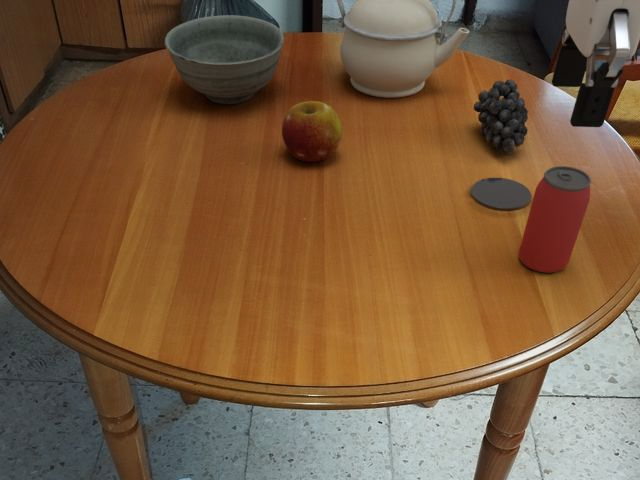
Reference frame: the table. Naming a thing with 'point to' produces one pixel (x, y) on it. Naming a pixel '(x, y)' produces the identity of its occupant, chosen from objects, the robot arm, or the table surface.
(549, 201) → the beer can
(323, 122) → the fruit
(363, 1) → the kettle
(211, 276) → the table surface
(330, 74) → the table surface
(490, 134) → the fruit
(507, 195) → the coaster
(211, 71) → the bowl
